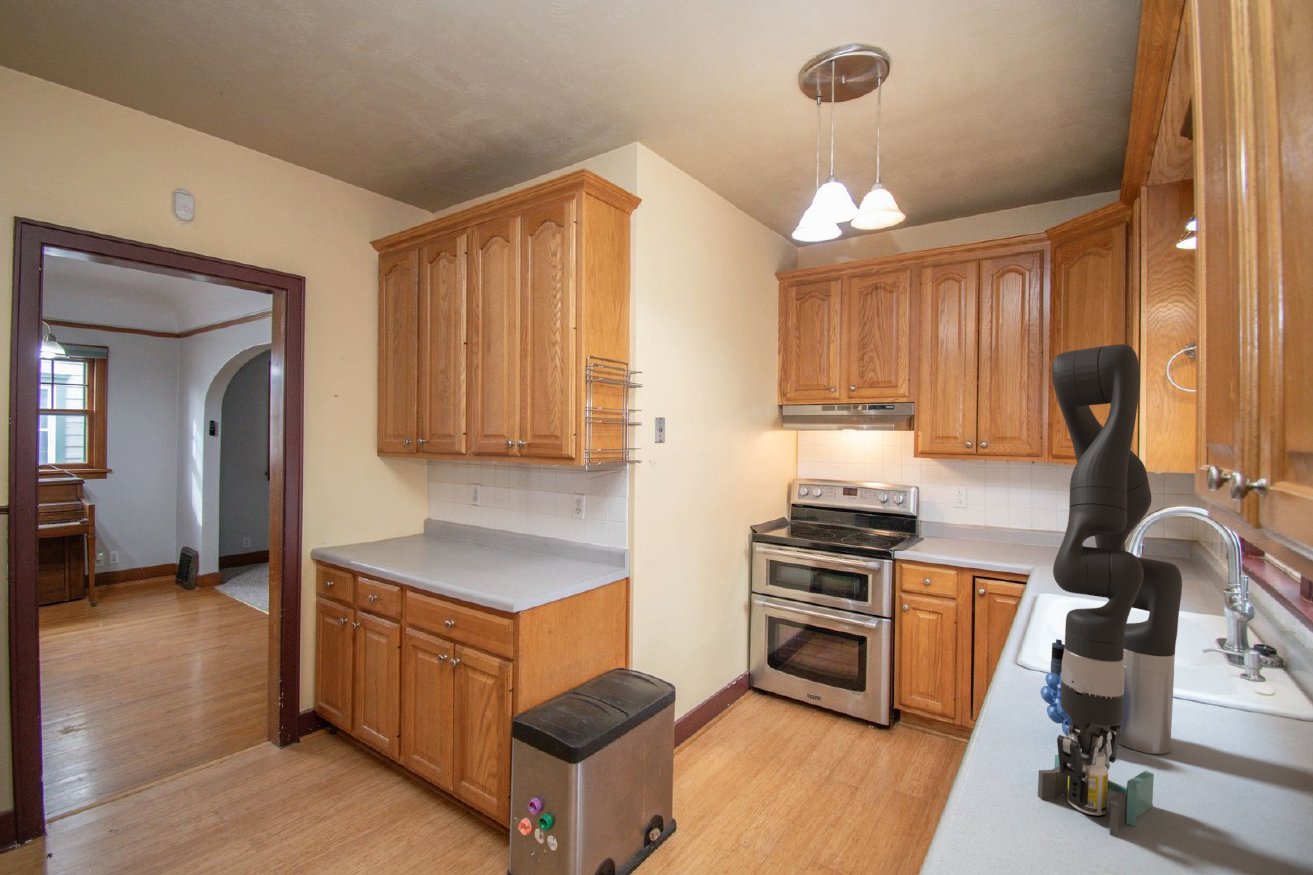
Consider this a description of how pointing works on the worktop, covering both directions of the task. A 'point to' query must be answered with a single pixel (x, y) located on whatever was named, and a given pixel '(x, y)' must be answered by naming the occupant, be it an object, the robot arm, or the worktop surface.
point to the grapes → (1055, 701)
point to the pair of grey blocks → (1055, 786)
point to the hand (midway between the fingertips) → (1086, 796)
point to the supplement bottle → (1095, 788)
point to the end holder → (1132, 793)
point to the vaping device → (1057, 657)
